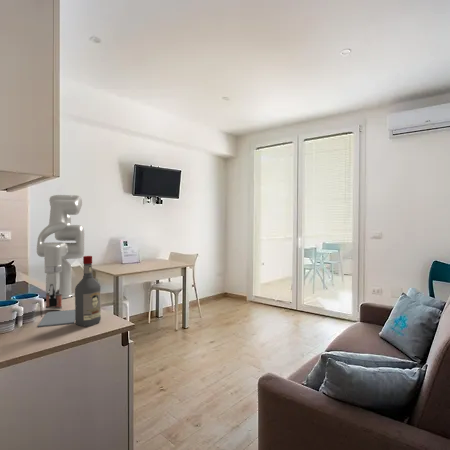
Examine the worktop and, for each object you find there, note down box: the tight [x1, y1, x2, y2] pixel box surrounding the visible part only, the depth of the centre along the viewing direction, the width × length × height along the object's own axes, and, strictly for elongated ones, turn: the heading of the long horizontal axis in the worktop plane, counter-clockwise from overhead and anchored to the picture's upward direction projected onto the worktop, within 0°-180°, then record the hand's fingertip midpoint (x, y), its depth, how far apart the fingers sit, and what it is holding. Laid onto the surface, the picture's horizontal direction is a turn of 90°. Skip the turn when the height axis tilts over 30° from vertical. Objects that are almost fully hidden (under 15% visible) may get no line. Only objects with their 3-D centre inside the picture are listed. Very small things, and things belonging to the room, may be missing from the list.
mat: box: [37, 309, 75, 328], centre depth 147 cm, size 20×14×1 cm
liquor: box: [74, 255, 102, 328], centre depth 140 cm, size 9×9×30 cm
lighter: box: [45, 289, 63, 310], centre depth 159 cm, size 8×3×10 cm, turn 84°
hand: (53, 304), depth 159 cm, fingers closed on lighter, 4 cm apart
